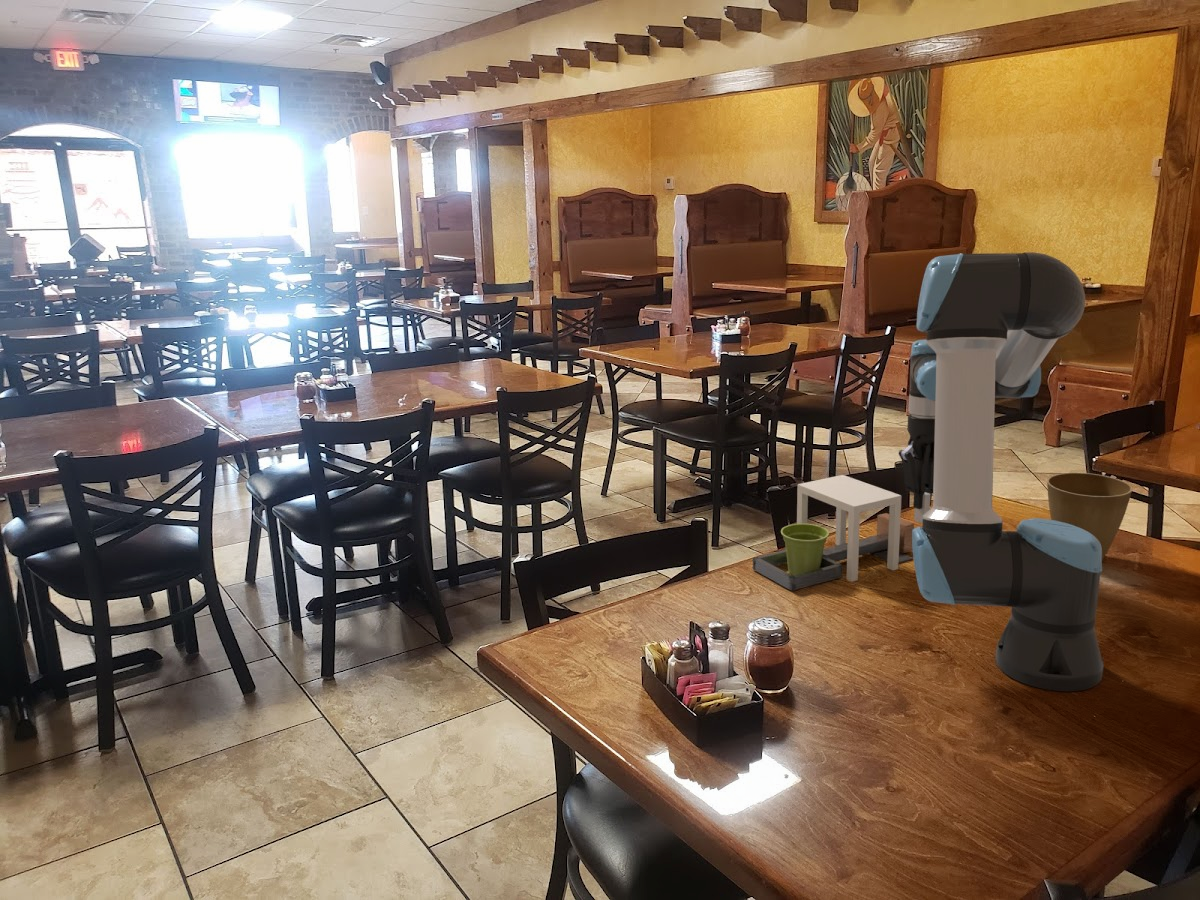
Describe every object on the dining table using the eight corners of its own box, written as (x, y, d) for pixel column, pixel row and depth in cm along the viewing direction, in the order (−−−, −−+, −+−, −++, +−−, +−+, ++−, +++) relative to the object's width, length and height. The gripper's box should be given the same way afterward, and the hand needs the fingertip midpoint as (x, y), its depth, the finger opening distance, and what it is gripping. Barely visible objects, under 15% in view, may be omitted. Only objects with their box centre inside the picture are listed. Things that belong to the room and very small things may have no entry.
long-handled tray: (920, 555, 189) (922, 526, 187) (791, 590, 175) (791, 560, 173) (877, 537, 200) (878, 510, 198) (752, 569, 186) (752, 540, 184)
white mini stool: (920, 562, 186) (924, 490, 182) (851, 581, 179) (854, 506, 175) (862, 537, 201) (864, 470, 197) (796, 554, 193) (797, 484, 189)
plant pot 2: (1024, 554, 188) (1030, 480, 184) (1074, 540, 194) (1081, 468, 190) (1088, 579, 175) (1097, 500, 171) (1140, 563, 181) (1150, 487, 177)
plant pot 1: (835, 568, 185) (836, 528, 183) (816, 585, 178) (817, 543, 176) (792, 559, 191) (793, 520, 188) (772, 575, 183) (772, 534, 181)
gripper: (936, 407, 196) (930, 511, 202) (890, 415, 190) (885, 522, 197) (964, 413, 190) (957, 520, 196) (917, 422, 184) (911, 532, 190)
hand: (921, 521), depth 196 cm, fingers closed
